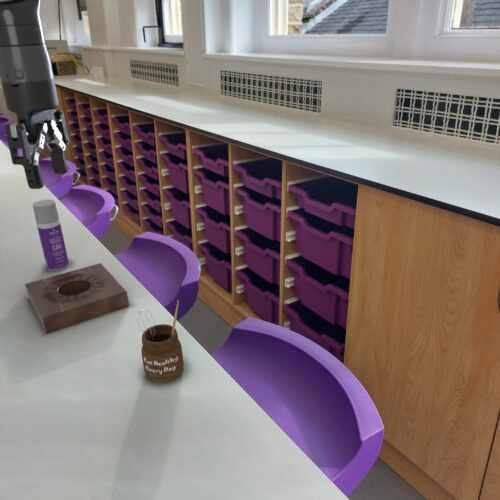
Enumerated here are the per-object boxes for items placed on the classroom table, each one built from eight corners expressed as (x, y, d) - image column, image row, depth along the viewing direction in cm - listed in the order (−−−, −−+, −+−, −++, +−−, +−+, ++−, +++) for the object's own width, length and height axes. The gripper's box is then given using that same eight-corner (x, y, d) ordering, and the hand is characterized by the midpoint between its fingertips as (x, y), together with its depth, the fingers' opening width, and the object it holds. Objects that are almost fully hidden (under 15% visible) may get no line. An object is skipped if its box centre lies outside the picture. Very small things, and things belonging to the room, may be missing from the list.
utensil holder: (147, 361, 76) (136, 295, 71) (187, 358, 77) (179, 291, 72) (142, 386, 71) (130, 316, 66) (185, 383, 71) (177, 313, 66)
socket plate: (46, 335, 84) (42, 317, 83) (28, 299, 95) (24, 284, 94) (129, 307, 91) (126, 291, 90) (103, 277, 103) (100, 262, 101)
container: (59, 272, 106) (44, 207, 99) (42, 270, 107) (26, 205, 101) (73, 263, 110) (60, 200, 103) (57, 261, 111) (42, 198, 105)
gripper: (28, 73, 81) (48, 169, 88) (-25, 83, 68) (4, 194, 75) (71, 72, 80) (88, 168, 87) (26, 82, 67) (50, 193, 74)
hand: (49, 180), depth 81 cm, fingers open, 8 cm apart
